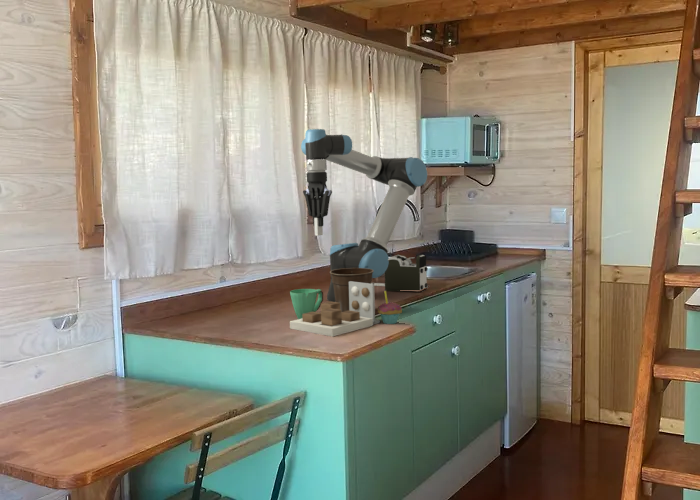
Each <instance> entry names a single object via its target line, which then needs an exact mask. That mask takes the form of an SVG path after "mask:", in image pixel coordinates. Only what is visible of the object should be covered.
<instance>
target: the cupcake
mask: <svg viewBox="0 0 700 500" xmlns="http://www.w3.org/2000/svg"><path fill="white" fill-rule="evenodd" d="M384 299H385V302H383V303H381V304H380V305H379V306H378V307H377V313H378V314H379V315H380V318H381V319H382V323H383V324H386V325H393V324H397V323H398V319H399V316H400V314H402V313H403V309H402V306H401V304H398V303H397V302H391V301H388V295H387V291H385V288H384Z"/></svg>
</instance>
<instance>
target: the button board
mask: <svg viewBox="0 0 700 500" xmlns="http://www.w3.org/2000/svg"><path fill="white" fill-rule="evenodd" d="M373 325H374V324H373V318H366V317H360V320H356V321H352V322H348V321H342V323H341V324H337V325H333V326H330V325H325V324H321V321H319V322H315V323H309V322H303V318H302V319H298V318H297V319H294V320H290V321H289V329H290V330H295V331H302V332H306V333H312V334H317V335H322V336H327V337H333V338H334V337H335V336H339V335H344V334H347V333H351V332H354V331H357V330H362V329H367V328H370V327H373Z"/></svg>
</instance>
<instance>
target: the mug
mask: <svg viewBox="0 0 700 500" xmlns="http://www.w3.org/2000/svg"><path fill="white" fill-rule="evenodd" d="M289 294H290V298H291V303H292V306H293V310H294V312H295V315H296V317H297V320H298V319H302V314H304V313H309V312H317V311H319V309H320V308H321V303H323V301H324V292H323V290H322V289H320V288H318V289H317V288H316V289H315V288H299V289H293V290H290V291H289ZM317 295H318V296H317Z"/></svg>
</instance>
